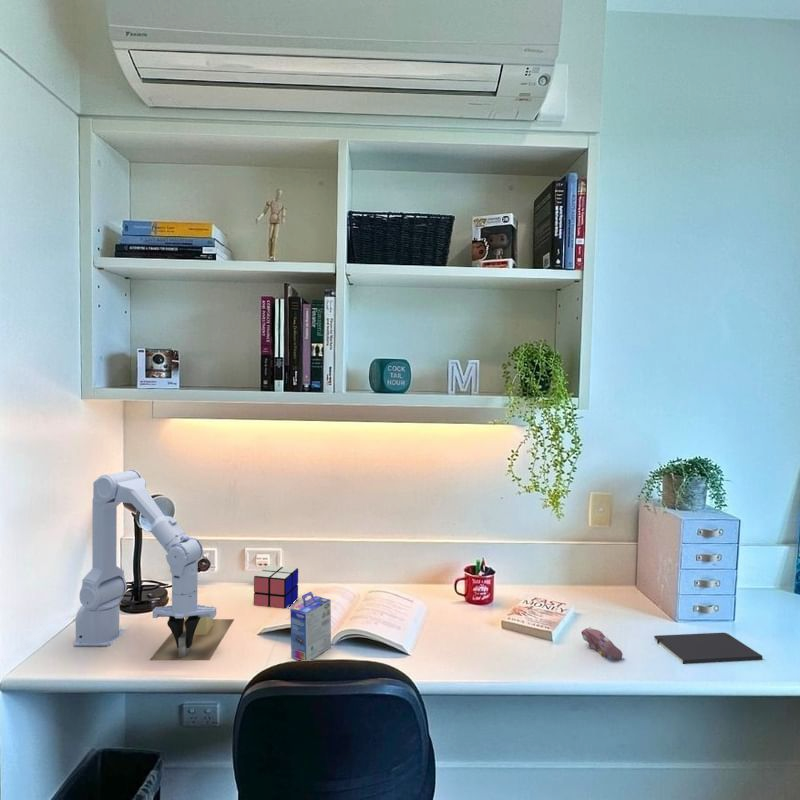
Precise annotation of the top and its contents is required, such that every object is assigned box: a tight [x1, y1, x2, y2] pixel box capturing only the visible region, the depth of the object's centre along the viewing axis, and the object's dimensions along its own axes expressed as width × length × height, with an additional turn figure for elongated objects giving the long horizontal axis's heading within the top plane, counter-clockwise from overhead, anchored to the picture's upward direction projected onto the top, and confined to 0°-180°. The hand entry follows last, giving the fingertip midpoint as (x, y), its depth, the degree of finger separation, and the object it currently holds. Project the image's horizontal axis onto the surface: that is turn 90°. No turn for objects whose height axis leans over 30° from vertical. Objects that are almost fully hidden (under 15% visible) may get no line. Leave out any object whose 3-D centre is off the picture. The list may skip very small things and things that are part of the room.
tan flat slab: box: [149, 618, 235, 661], centre depth 139 cm, size 14×22×6 cm, turn 2°
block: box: [184, 604, 214, 635], centre depth 144 cm, size 6×6×6 cm
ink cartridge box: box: [289, 591, 332, 661], centre depth 135 cm, size 10×6×14 cm, turn 149°
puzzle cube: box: [253, 565, 299, 610], centre depth 164 cm, size 10×10×10 cm
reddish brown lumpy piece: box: [581, 626, 623, 660], centre depth 138 cm, size 10×5×7 cm, turn 21°
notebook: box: [653, 632, 763, 665], centre depth 141 cm, size 13×2×21 cm
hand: (184, 646), depth 132 cm, fingers closed on tan flat slab, 2 cm apart
